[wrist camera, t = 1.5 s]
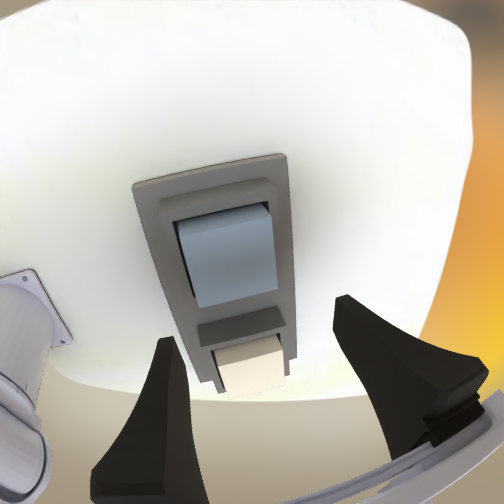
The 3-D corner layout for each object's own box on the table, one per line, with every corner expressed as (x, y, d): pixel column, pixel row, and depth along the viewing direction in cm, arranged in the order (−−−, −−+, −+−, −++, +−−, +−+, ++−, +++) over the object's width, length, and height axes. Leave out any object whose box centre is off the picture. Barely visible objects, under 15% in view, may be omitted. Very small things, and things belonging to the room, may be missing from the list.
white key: (224, 382, 26) (229, 399, 24) (213, 347, 23) (217, 366, 22) (278, 368, 27) (285, 384, 25) (274, 331, 24) (282, 349, 22)
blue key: (195, 288, 20) (199, 308, 19) (178, 221, 18) (179, 236, 16) (268, 271, 21) (278, 288, 19) (261, 203, 18) (271, 216, 17)
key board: (199, 375, 29) (204, 403, 26) (133, 184, 19) (126, 203, 16) (293, 350, 31) (305, 376, 28) (281, 153, 20) (301, 166, 17)
